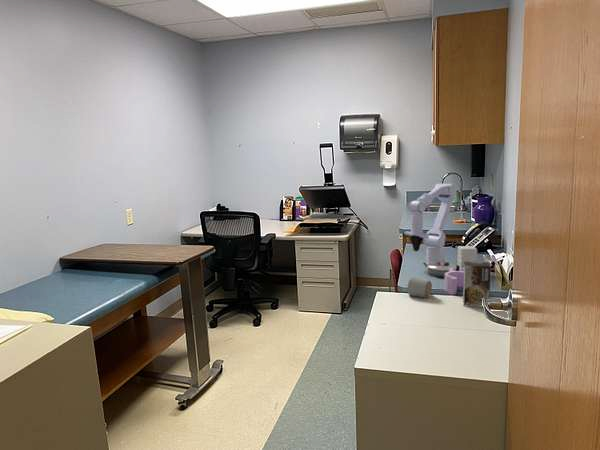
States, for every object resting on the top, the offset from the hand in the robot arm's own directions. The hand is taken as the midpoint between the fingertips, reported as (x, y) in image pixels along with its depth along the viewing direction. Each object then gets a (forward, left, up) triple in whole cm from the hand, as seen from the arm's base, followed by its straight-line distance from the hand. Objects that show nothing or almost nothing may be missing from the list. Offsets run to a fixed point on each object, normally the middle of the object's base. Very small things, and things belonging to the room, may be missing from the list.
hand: (416, 250), depth 220 cm
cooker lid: (-2, +15, -6) cm, 16 cm away
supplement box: (-15, +19, -10) cm, 26 cm away
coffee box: (+22, +53, -10) cm, 58 cm away
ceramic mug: (+31, +33, -10) cm, 47 cm away
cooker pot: (-2, +15, -9) cm, 18 cm away
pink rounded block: (+10, +35, -10) cm, 38 cm away
